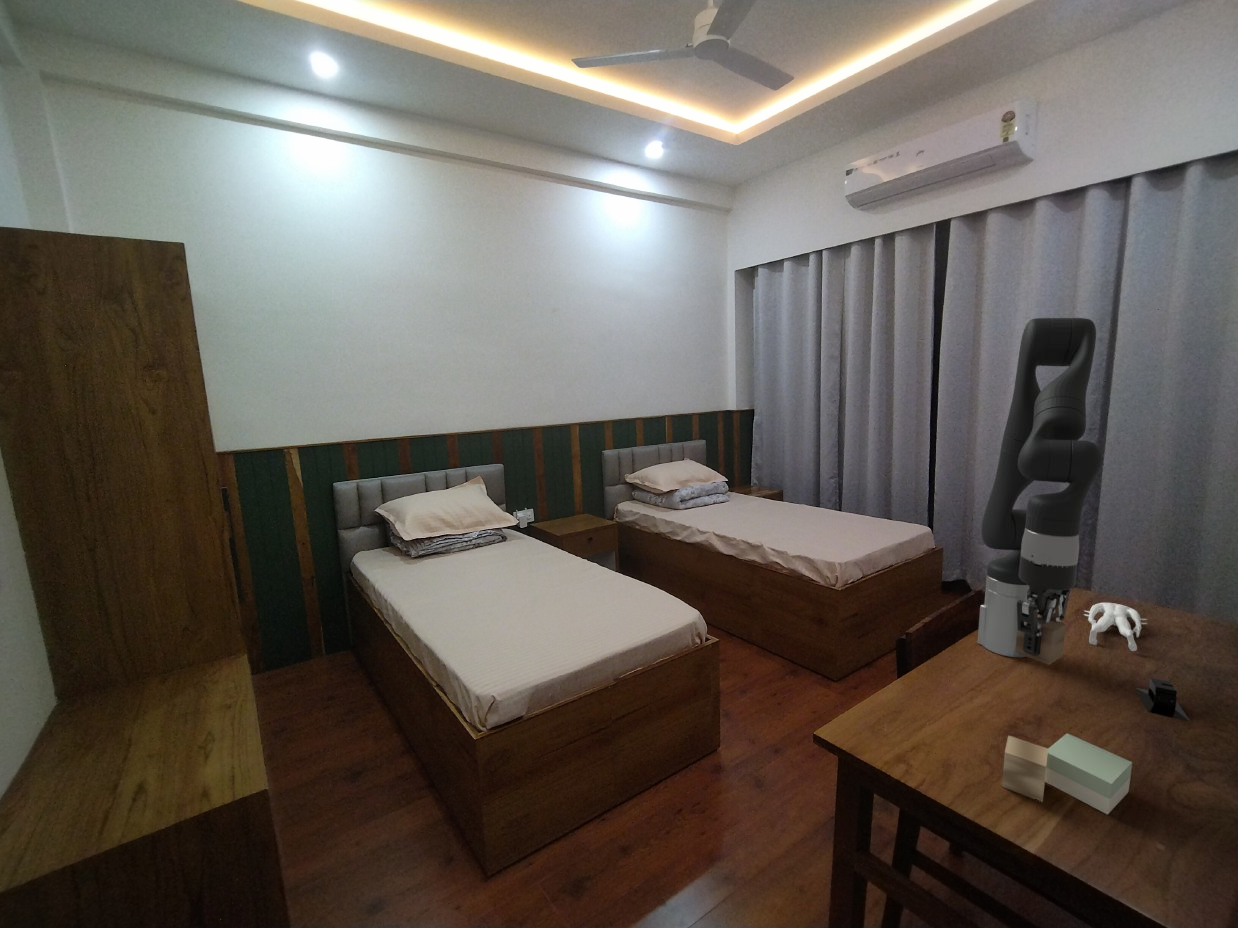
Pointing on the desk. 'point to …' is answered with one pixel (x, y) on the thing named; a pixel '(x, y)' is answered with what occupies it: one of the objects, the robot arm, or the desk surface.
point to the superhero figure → (1114, 621)
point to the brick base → (1088, 772)
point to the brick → (1025, 768)
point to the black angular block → (1162, 699)
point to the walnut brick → (1046, 642)
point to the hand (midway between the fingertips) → (1038, 648)
